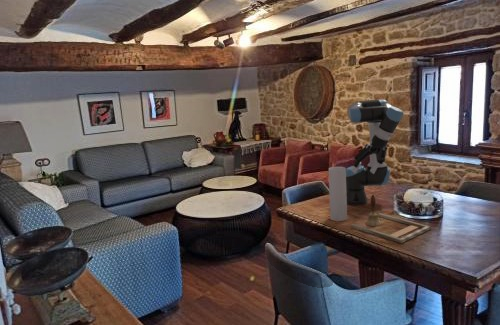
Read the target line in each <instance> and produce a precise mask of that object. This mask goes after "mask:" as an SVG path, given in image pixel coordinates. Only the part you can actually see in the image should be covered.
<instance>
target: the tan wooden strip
mask: <svg viewBox="0 0 500 325" xmlns="http://www.w3.org/2000/svg"><path fill="white" fill-rule="evenodd" d="M417 229H419V227H418V226H414V225H408V226H407V227H404V228H402V229H400V230H397V231H395V232H393V233H391V234H390V235H391V236H394V237H397V238H401V237H402V236H404V235H406V234H407V235H408V234H409V233H410V232H414V231H416V230H417Z"/></svg>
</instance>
